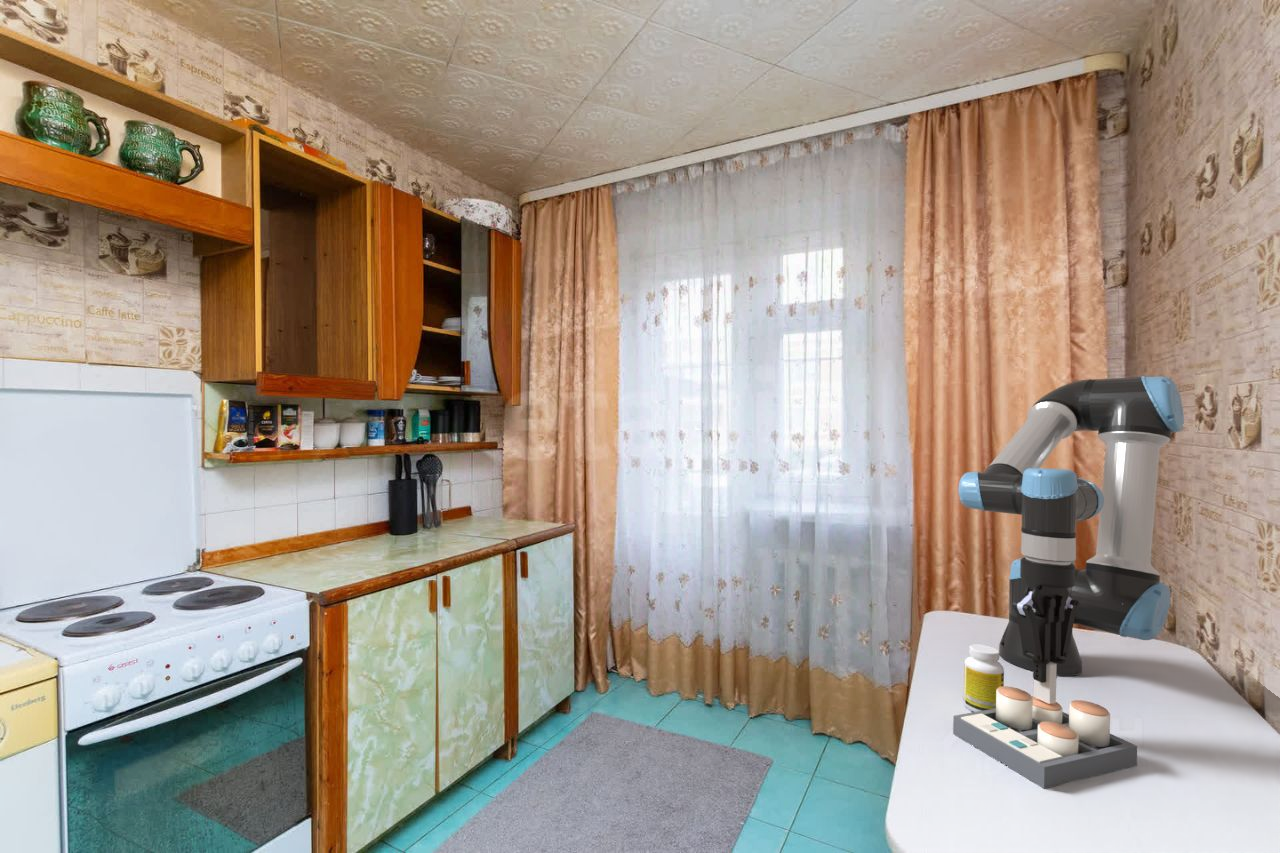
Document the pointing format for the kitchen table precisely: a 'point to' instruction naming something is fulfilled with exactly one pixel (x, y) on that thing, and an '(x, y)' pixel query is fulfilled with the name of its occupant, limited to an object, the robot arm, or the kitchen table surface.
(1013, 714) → the button
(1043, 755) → the board
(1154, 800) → the kitchen table surface
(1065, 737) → the button
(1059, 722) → the button
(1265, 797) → the kitchen table surface
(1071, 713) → the button
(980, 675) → the pill bottle
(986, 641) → the kitchen table surface
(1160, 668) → the kitchen table surface
